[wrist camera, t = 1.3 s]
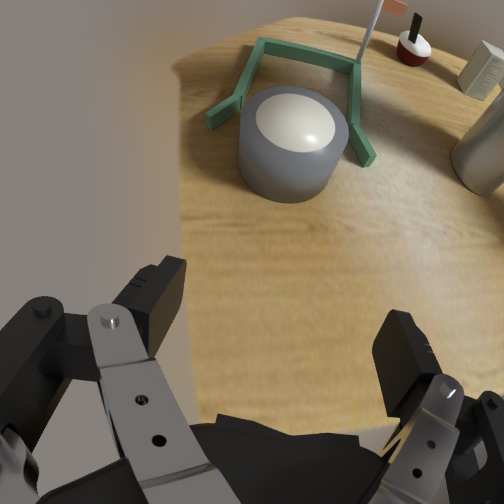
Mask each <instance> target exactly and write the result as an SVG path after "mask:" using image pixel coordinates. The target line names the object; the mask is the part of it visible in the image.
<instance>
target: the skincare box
mask: <svg viewBox="0 0 504 504" xmlns="http://www.w3.org/2000/svg"><path fill="white" fill-rule="evenodd" d="M503 75H504V52H503V51H502V50H501V49H499V48H496V47H495V46H493V45H491V44H489V43H487V42H485V41H481V42H480V44H479V46H478V47H477V49H476V50H475V52H474V53H473V55H472V57H471V58H470V60H469V61H468V63H467V64H466V66H465V67H464V69H463V70H462V72H461V73H460V75H459V76H458V78H457V79H456V80H457V82H458V84H459V86H460V88H461V90H462V92H463V93H464V94H466V95H469V96H471V97H474V98H477V99H480V100H483V101H484V100H485V99H486V97H487V96H488V95H489V94H490V92H491V91H492V90H493V89H494V87H495V86H496V85H497V83H498V82H499V81H500V79H501V78H502V77H503Z"/></svg>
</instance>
